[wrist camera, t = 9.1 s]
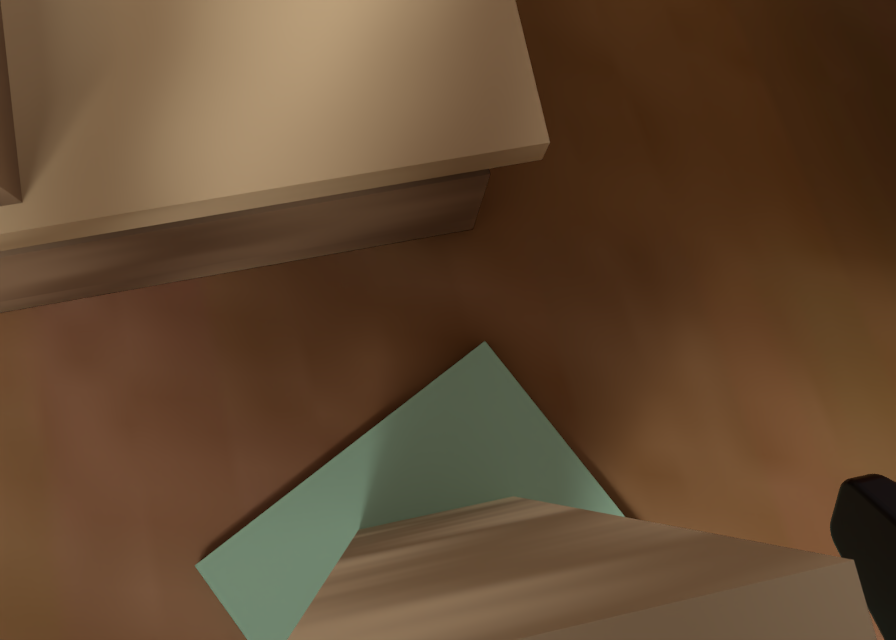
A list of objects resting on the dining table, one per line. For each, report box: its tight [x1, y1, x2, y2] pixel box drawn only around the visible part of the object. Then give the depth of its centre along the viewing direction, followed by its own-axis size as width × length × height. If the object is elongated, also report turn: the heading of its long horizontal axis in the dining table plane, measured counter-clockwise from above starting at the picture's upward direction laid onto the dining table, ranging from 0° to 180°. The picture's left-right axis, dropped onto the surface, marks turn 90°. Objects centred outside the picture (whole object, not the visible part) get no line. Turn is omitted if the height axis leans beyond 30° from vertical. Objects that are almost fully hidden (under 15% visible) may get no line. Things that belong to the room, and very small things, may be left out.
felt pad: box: [195, 341, 625, 640], centre depth 17 cm, size 8×8×1 cm
